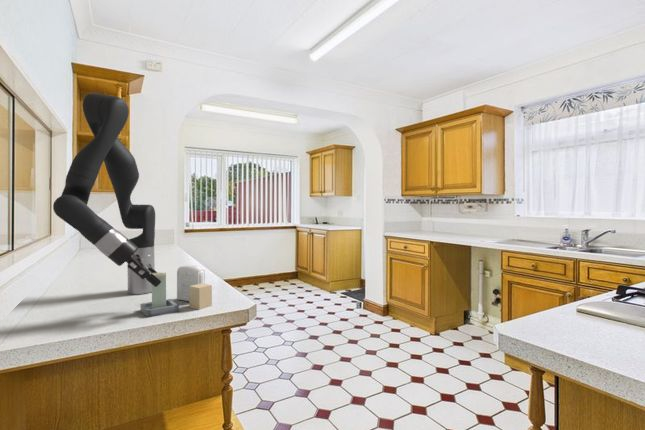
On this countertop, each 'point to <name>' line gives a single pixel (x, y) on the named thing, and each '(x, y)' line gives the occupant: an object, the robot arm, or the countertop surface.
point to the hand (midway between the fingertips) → (159, 281)
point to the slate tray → (159, 309)
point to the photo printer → (188, 280)
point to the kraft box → (200, 296)
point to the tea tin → (159, 291)
